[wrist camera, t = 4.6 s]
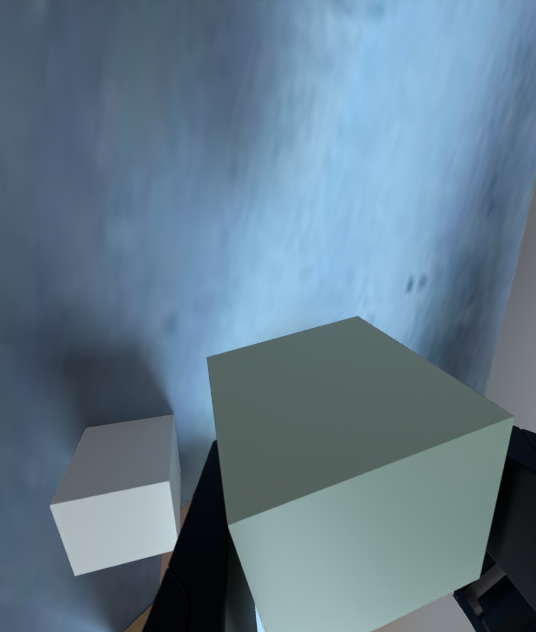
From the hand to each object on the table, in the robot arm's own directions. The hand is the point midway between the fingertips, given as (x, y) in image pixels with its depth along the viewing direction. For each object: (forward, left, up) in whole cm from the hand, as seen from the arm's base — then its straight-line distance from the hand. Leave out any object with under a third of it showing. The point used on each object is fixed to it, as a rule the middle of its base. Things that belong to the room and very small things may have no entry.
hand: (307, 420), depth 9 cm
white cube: (+9, +7, -9) cm, 15 cm away
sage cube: (0, 0, -1) cm, 1 cm away
